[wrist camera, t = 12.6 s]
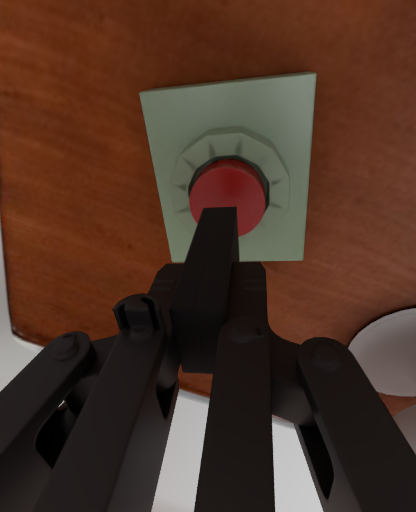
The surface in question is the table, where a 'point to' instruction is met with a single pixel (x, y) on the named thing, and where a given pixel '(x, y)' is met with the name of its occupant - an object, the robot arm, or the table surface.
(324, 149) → the table surface
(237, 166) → the button
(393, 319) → the chalice
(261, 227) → the control block
